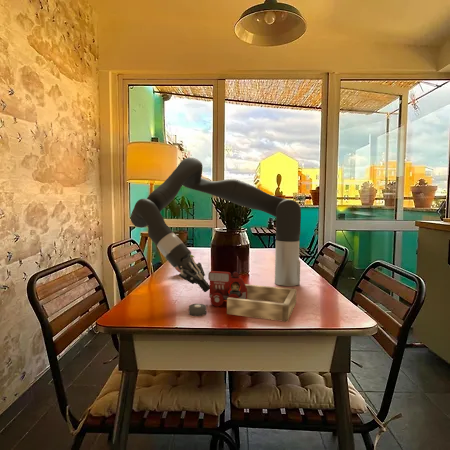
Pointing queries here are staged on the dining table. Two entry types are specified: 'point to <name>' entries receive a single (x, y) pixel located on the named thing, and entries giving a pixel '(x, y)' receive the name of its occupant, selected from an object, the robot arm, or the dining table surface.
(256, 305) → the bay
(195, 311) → the spare wheel
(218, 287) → the toy fire truck
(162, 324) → the dining table surface
